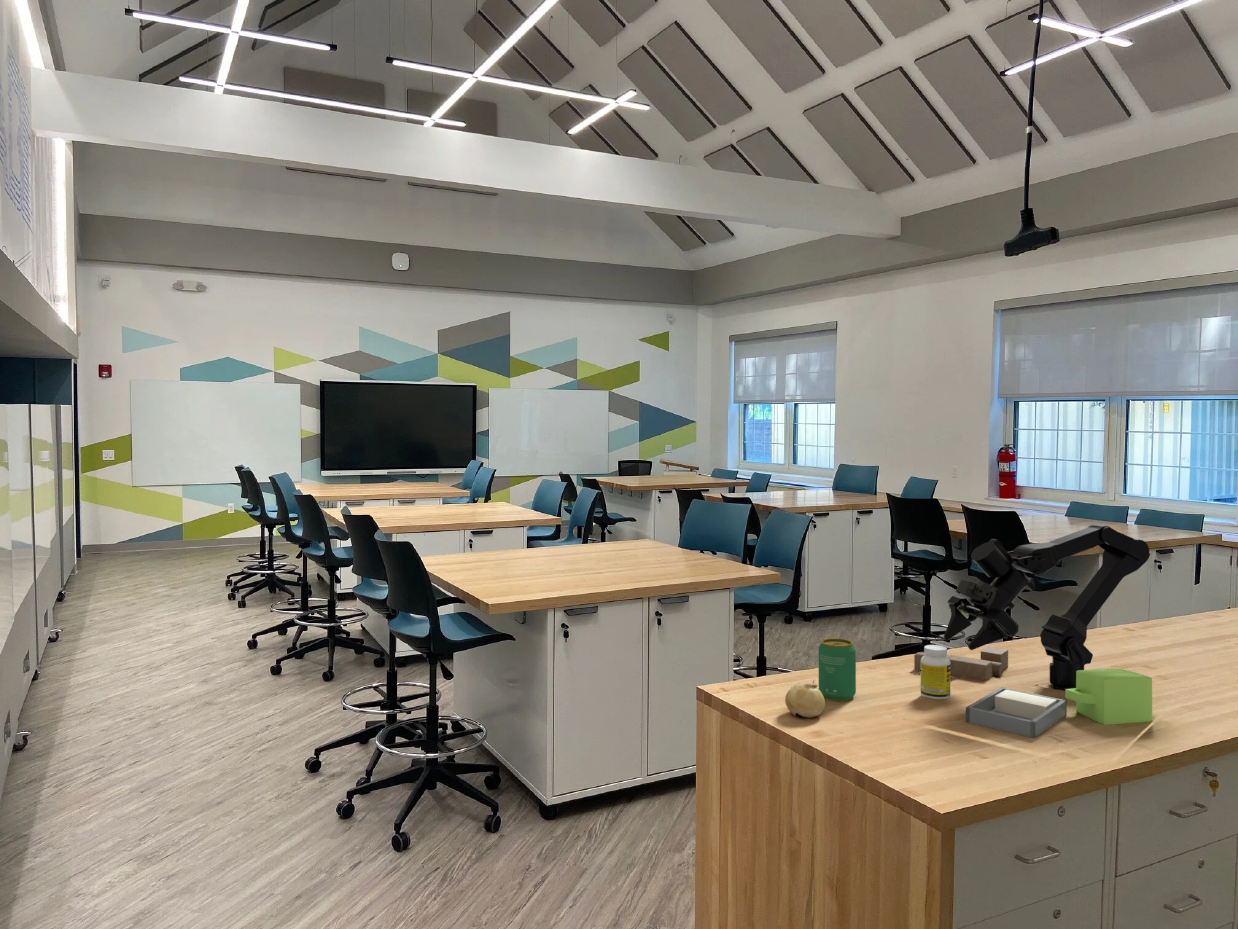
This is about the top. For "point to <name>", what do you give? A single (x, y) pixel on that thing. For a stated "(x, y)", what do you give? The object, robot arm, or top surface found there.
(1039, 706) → the cream rectangular block
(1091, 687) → the green tabbed block
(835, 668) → the beverage can
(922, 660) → the pill bottle
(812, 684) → the onion
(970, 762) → the top surface
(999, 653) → the wooden block set
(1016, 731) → the tote
